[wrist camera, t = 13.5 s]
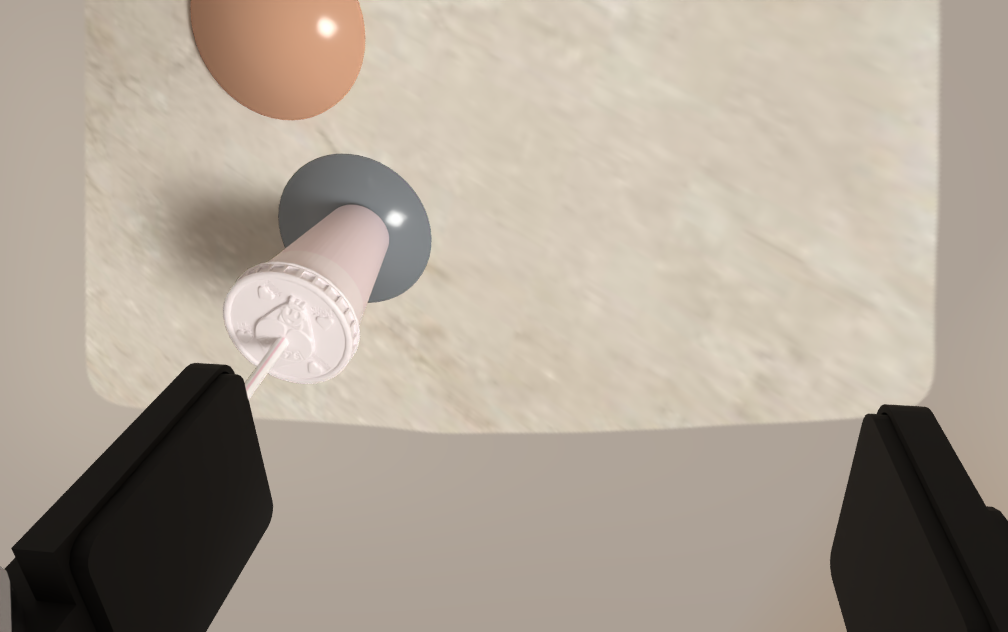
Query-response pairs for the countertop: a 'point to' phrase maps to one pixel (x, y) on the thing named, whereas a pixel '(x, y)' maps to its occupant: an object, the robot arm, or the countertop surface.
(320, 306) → the smoothie
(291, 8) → the orange brown disc
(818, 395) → the countertop surface
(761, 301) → the countertop surface
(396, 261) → the grey pebble
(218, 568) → the robot arm
